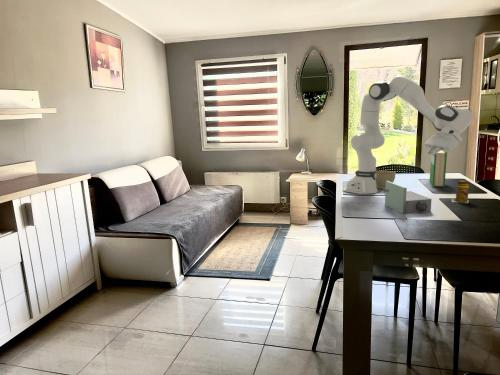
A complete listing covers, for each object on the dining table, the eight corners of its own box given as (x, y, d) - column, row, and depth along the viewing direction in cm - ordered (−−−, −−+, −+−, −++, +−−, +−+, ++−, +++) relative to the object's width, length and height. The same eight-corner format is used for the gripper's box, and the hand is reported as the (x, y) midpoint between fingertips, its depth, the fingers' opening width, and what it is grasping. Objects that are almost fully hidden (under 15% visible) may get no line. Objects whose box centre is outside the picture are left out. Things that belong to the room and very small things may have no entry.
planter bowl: (391, 185, 263) (392, 170, 261) (398, 190, 247) (398, 174, 245) (368, 185, 265) (368, 170, 262) (373, 190, 249) (373, 174, 247)
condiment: (468, 203, 209) (470, 182, 207) (451, 202, 213) (452, 181, 211) (468, 200, 215) (469, 180, 213) (451, 199, 219) (453, 179, 217)
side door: (382, 205, 212) (383, 181, 209) (386, 204, 213) (387, 180, 210) (401, 214, 193) (402, 188, 190) (405, 214, 193) (407, 187, 190)
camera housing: (387, 204, 213) (387, 192, 212) (409, 202, 215) (410, 191, 213) (407, 214, 192) (408, 201, 190) (433, 212, 193) (433, 199, 192)
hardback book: (444, 187, 250) (447, 152, 245) (432, 187, 253) (434, 152, 248) (440, 182, 266) (443, 149, 261) (429, 182, 269) (431, 149, 264)
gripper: (432, 130, 208) (415, 148, 209) (457, 131, 188) (438, 152, 189) (439, 137, 209) (422, 155, 210) (464, 140, 190) (446, 160, 190)
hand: (430, 154), depth 199 cm, fingers closed
